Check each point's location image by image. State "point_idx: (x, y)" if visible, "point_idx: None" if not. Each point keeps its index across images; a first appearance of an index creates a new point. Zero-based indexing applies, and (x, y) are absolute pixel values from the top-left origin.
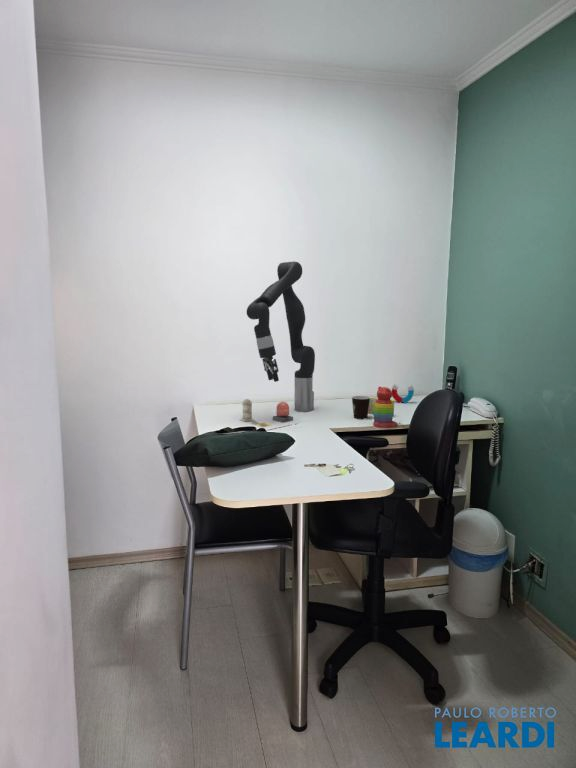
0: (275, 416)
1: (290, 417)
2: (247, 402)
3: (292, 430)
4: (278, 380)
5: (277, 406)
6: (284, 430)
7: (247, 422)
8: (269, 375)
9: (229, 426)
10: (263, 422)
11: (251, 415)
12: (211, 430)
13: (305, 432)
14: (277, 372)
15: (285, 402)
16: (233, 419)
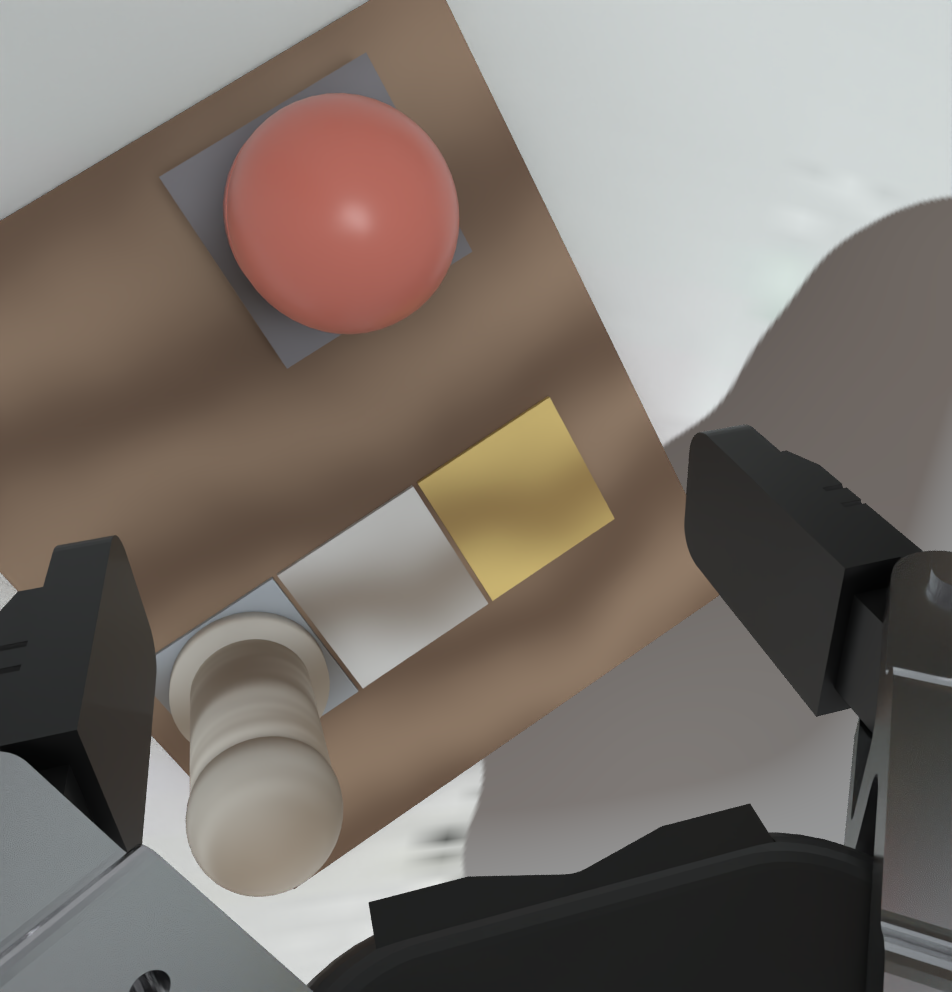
0: (307, 331)
1: (395, 108)
2: (338, 826)
3: (732, 185)
4: (743, 433)
5: (380, 326)
6: (708, 279)
7: (366, 677)
8: (131, 730)
9: (408, 835)
10: (401, 494)
11: (279, 663)
12: None
13: (852, 51)
14: (949, 557)
15: (376, 168)
16: None
